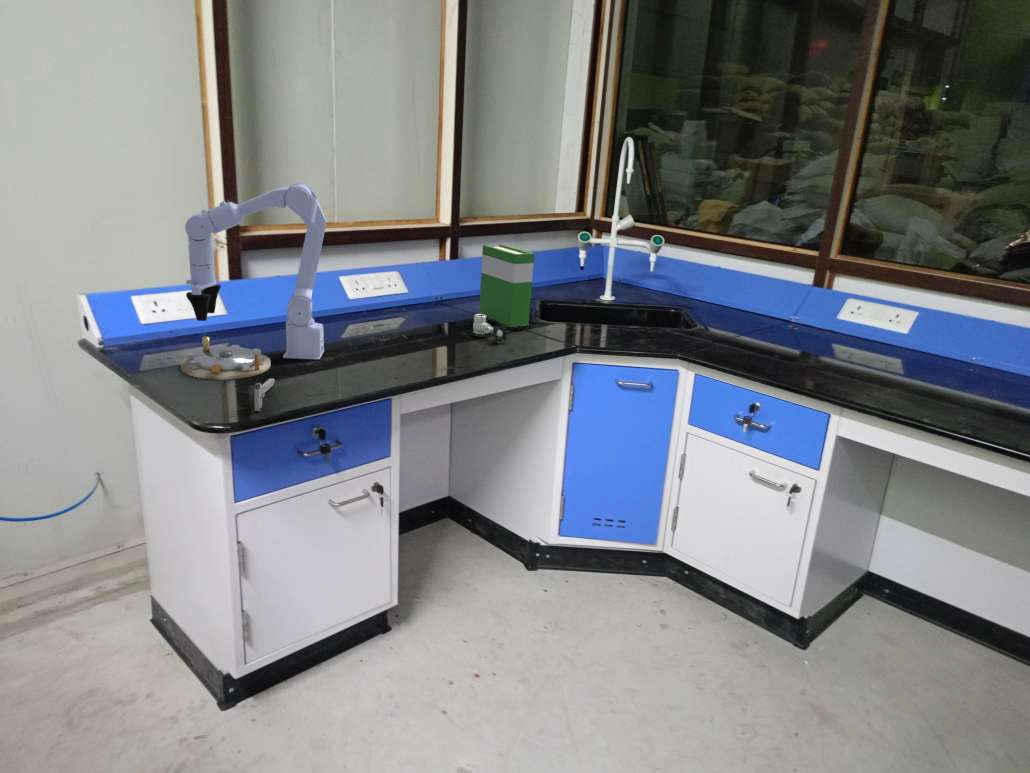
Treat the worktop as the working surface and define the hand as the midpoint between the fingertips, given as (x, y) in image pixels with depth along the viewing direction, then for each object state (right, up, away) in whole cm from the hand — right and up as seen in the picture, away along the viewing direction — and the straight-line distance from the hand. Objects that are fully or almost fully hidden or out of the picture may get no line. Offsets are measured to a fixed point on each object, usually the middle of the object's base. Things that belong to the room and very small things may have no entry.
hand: (205, 316), depth 194 cm
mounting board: (+7, -13, -4) cm, 15 cm away
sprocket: (+7, -11, -4) cm, 14 cm away
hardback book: (+75, +3, +58) cm, 95 cm away
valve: (+71, -4, +36) cm, 80 cm away
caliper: (+22, -20, -21) cm, 37 cm away
